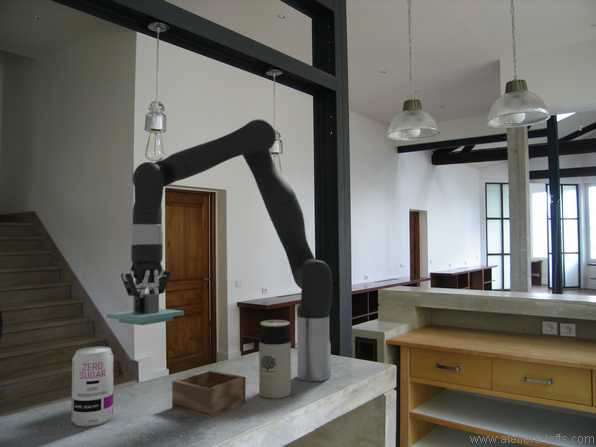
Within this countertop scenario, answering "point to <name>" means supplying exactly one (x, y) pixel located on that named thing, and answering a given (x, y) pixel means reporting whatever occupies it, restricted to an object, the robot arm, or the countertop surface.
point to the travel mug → (274, 359)
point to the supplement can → (92, 386)
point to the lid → (146, 312)
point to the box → (208, 393)
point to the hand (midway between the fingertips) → (146, 311)
